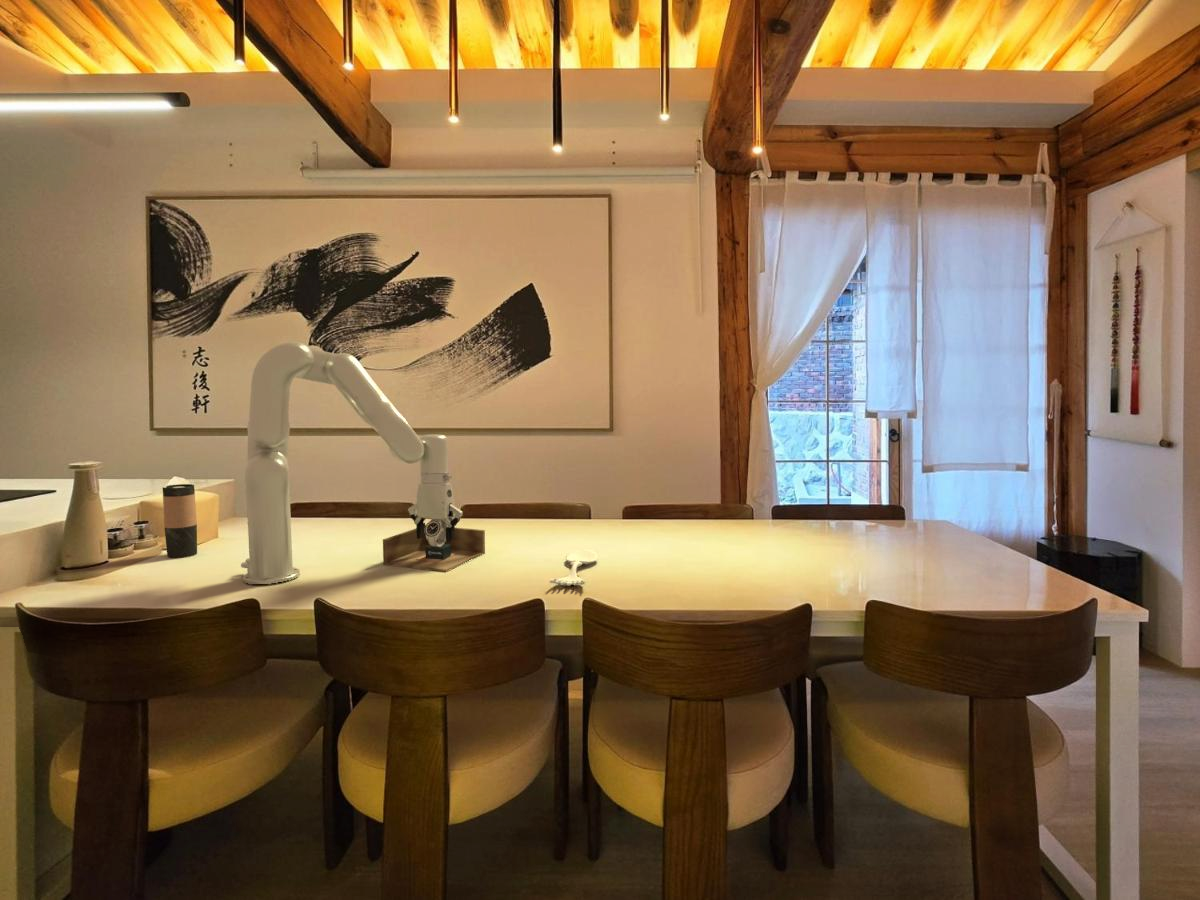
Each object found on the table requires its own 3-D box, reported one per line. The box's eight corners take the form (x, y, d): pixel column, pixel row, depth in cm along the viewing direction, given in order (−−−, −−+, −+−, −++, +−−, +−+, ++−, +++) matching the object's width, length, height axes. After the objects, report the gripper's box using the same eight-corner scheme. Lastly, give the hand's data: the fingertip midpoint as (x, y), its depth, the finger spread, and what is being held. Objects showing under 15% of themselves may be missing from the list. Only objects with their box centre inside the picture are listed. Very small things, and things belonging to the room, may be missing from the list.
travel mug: (203, 554, 179) (199, 485, 177) (173, 560, 172) (169, 488, 170) (190, 550, 183) (186, 483, 181) (161, 556, 176) (157, 486, 174)
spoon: (548, 592, 147) (548, 578, 147) (569, 557, 179) (569, 545, 179) (585, 594, 146) (585, 580, 146) (600, 558, 178) (600, 546, 178)
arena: (383, 564, 169) (382, 539, 168) (426, 547, 188) (426, 524, 187) (446, 571, 163) (446, 545, 162) (484, 553, 181) (484, 530, 181)
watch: (421, 559, 171) (421, 520, 170) (436, 552, 179) (435, 515, 178) (440, 561, 170) (439, 521, 169) (454, 554, 177) (453, 516, 176)
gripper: (468, 478, 174) (469, 538, 175) (416, 475, 179) (417, 533, 181) (453, 482, 167) (454, 544, 168) (400, 478, 172) (401, 539, 174)
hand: (435, 539), depth 175 cm, fingers open, 9 cm apart
